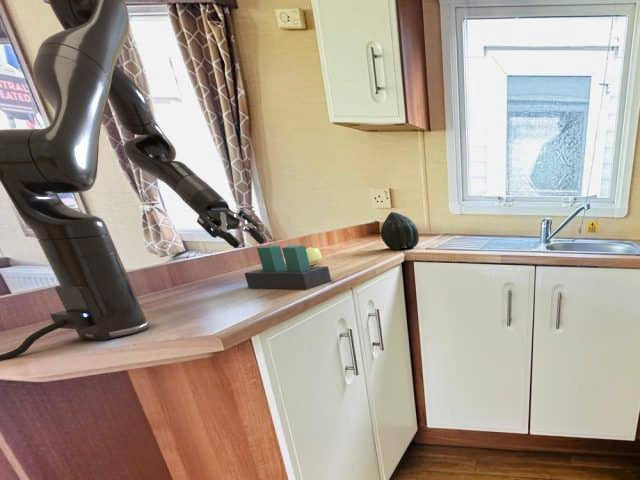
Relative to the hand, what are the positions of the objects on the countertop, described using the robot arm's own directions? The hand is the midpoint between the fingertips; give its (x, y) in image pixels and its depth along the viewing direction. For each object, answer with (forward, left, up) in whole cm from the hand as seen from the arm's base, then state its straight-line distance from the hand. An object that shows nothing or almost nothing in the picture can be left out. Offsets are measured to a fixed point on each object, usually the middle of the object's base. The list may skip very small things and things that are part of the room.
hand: (251, 243), depth 113 cm
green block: (0, -5, -11) cm, 12 cm away
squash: (+69, -7, -11) cm, 70 cm away
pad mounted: (0, -13, -11) cm, 17 cm away
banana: (+28, +10, -11) cm, 32 cm away
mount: (0, -9, -11) cm, 14 cm away
